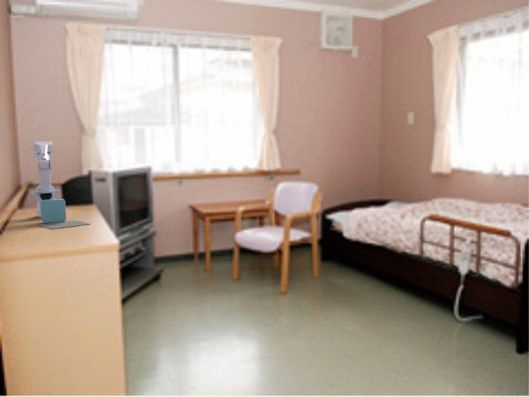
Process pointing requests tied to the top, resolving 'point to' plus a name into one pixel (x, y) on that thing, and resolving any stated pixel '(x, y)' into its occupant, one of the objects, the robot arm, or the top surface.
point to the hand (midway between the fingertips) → (46, 207)
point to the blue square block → (53, 210)
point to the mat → (63, 224)
